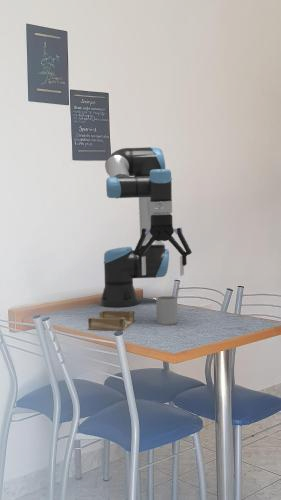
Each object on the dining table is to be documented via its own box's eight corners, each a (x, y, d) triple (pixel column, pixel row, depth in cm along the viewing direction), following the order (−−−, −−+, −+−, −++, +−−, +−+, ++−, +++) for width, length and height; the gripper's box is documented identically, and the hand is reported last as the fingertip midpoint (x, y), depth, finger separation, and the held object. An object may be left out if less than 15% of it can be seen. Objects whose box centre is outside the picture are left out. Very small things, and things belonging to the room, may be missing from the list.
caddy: (102, 321, 233) (102, 310, 232) (134, 321, 230) (134, 311, 229) (88, 329, 218) (88, 318, 218) (122, 330, 215) (122, 319, 215)
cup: (163, 326, 221) (162, 300, 221) (149, 321, 230) (148, 296, 229) (181, 323, 225) (180, 298, 224) (166, 319, 233) (166, 294, 233)
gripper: (123, 215, 224) (125, 276, 225) (195, 213, 217) (196, 276, 219) (129, 214, 231) (131, 273, 233) (198, 213, 224) (200, 273, 226)
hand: (162, 275), depth 226 cm, fingers open, 13 cm apart
